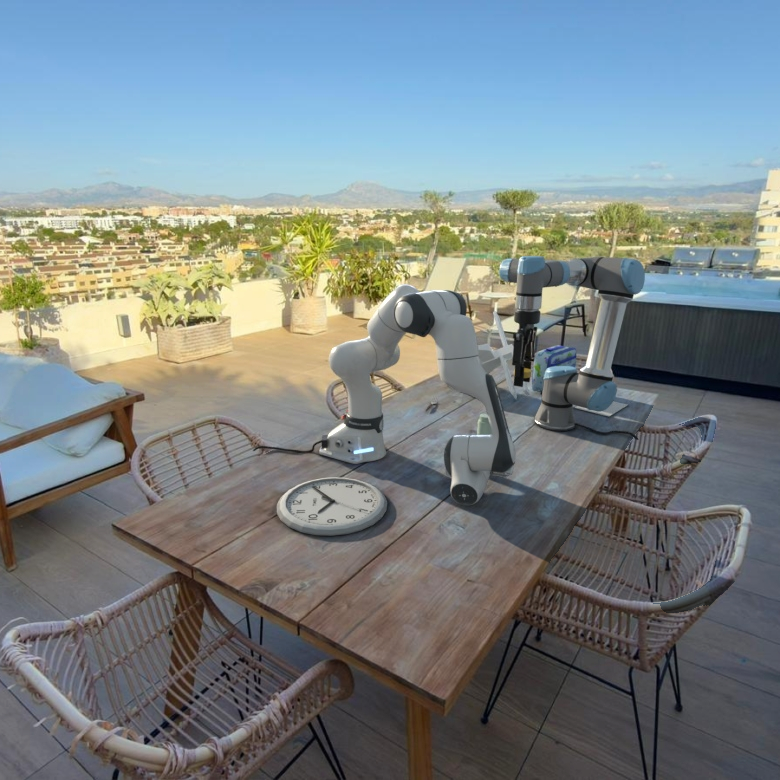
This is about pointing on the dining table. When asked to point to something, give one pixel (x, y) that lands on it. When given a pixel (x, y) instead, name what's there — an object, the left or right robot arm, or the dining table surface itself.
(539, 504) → the dining table surface
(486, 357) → the white plastic object
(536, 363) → the lunch box
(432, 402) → the fork
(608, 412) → the invitation card
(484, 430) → the green cylinder
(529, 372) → the lid
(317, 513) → the wall clock
